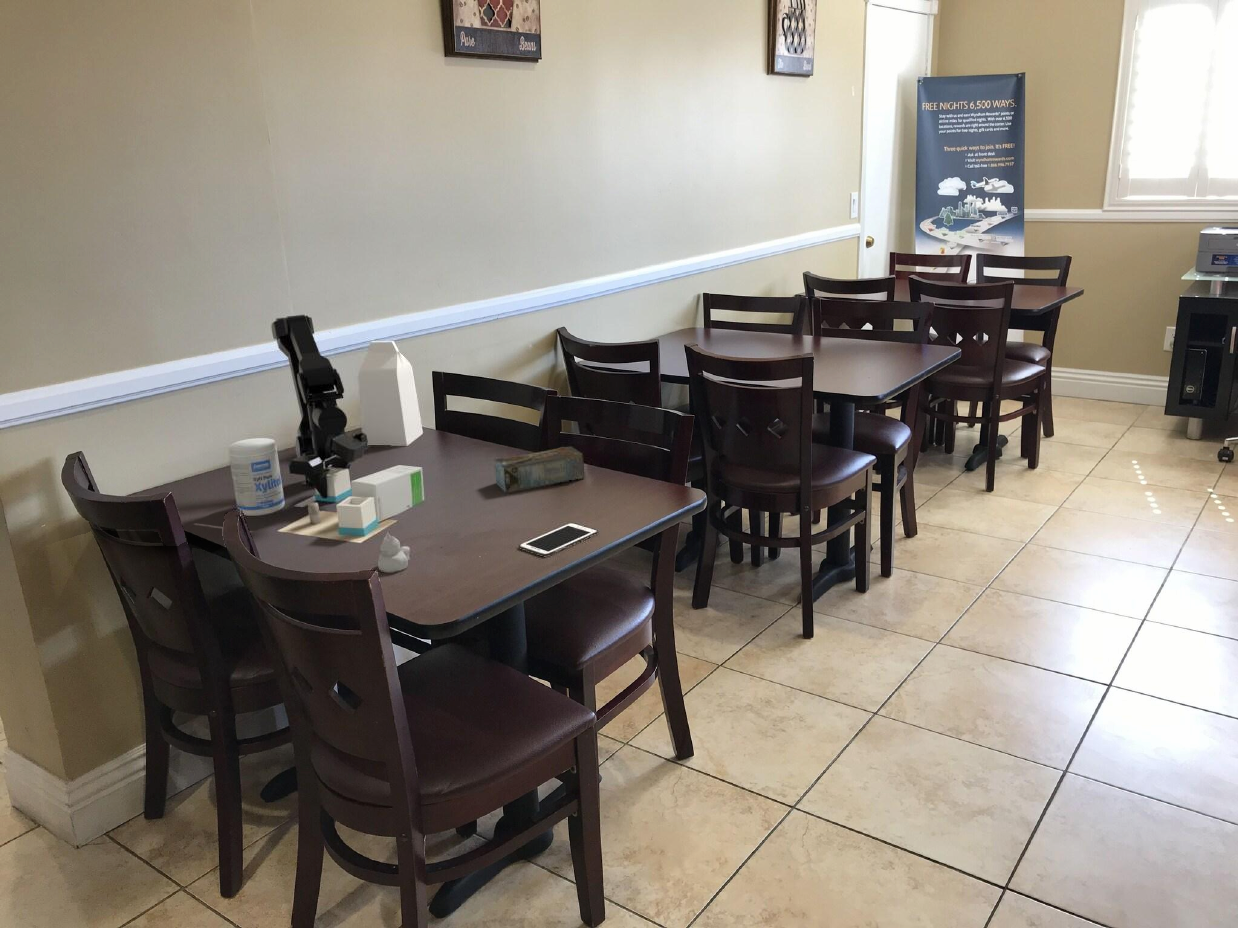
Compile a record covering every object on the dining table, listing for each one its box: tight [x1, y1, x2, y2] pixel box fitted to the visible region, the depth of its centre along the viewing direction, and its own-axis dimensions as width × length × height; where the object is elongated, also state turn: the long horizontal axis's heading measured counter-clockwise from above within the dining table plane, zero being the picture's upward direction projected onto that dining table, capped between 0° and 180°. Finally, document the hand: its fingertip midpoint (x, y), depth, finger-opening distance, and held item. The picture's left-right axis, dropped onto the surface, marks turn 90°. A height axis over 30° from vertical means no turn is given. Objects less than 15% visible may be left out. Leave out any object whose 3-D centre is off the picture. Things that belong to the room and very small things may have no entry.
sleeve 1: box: [314, 467, 352, 503], centre depth 205 cm, size 6×6×6 cm
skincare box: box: [350, 464, 425, 522], centre depth 196 cm, size 8×7×16 cm
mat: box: [294, 495, 317, 508], centre depth 207 cm, size 12×12×1 cm
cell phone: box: [518, 522, 599, 556], centre depth 180 cm, size 8×15×1 cm, turn 138°
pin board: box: [277, 501, 398, 544], centre depth 189 cm, size 20×12×5 cm, turn 67°
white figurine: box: [377, 531, 411, 574], centre depth 169 cm, size 5×7×8 cm
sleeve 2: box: [335, 495, 379, 536], centre depth 186 cm, size 6×6×6 cm
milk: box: [357, 340, 424, 447], centre depth 247 cm, size 12×12×26 cm
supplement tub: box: [227, 437, 285, 517], centre depth 201 cm, size 10×10×15 cm
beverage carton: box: [493, 445, 585, 493], centre depth 213 cm, size 8×19×7 cm, turn 114°
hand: (333, 493), depth 206 cm, fingers closed on sleeve 1, 6 cm apart
